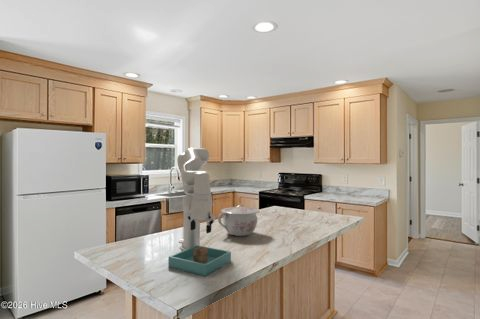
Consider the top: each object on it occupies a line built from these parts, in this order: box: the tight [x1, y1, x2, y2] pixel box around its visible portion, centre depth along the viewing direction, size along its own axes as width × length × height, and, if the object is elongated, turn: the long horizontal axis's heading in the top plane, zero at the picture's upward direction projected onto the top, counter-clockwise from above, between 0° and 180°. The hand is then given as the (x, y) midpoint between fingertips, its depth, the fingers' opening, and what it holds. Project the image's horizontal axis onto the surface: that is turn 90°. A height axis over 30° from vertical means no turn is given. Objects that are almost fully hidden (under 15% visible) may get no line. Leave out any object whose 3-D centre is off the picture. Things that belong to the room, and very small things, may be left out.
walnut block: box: [193, 246, 209, 264], centre depth 143 cm, size 5×5×7 cm
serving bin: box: [167, 245, 232, 277], centre depth 143 cm, size 22×22×5 cm
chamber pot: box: [217, 204, 260, 237], centre depth 203 cm, size 28×28×21 cm
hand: (200, 231), depth 144 cm, fingers open, 9 cm apart
